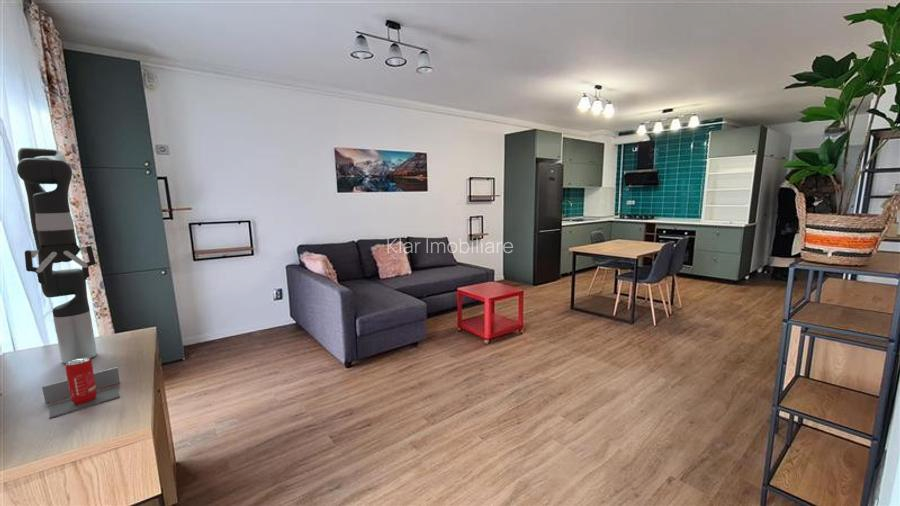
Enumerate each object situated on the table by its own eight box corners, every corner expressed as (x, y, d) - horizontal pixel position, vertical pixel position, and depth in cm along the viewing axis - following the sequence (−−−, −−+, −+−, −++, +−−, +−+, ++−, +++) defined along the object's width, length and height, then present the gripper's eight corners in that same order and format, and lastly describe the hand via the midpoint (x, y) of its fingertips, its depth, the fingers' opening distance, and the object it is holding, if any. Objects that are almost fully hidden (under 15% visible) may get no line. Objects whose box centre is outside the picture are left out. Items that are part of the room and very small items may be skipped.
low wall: (45, 402, 105) (42, 385, 104) (119, 381, 116) (117, 366, 116) (45, 403, 104) (42, 387, 103) (119, 382, 116) (117, 367, 115)
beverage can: (81, 406, 102) (74, 365, 100) (67, 404, 103) (59, 364, 101) (102, 396, 107) (95, 357, 105) (88, 394, 108) (81, 356, 106)
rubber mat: (50, 405, 103) (50, 404, 103) (116, 386, 113) (116, 385, 113) (49, 418, 97) (49, 417, 97) (120, 397, 107) (119, 396, 107)
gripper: (88, 226, 115) (97, 276, 118) (19, 229, 105) (30, 284, 107) (90, 227, 110) (98, 279, 113) (17, 231, 100) (29, 288, 102)
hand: (65, 281), depth 110 cm, fingers open, 8 cm apart
